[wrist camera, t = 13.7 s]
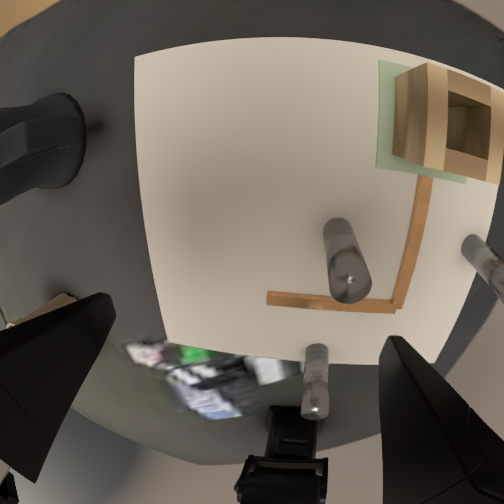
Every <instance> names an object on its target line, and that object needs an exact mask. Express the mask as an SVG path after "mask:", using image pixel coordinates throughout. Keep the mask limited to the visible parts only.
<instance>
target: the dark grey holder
mask: <svg viewBox="0 0 504 504" xmlns="http://www.w3.org/2000/svg"><path fill="white" fill-rule="evenodd" d="M85 150H86V125H85V120H84V115H83V112H82V110H81V108H80V106H79V104H78V102H77V101H76V100H75V99H74V98H73V97H72V96H70V95H69V94H65V93H61V92H60V93H56V94H53V95H50V96H47V97H44V98H41V99H39V100H37V101H35V102H34V103H33V104H31V105H27V106H20V107H12V108H0V205H2V204H4V203H6V202H8V201H9V200H11V199H12V198H14V197H16V196H17V195H20V194H22V193H24V192H26V191H29V190H31V189H33V188H42V189H51V188H61V187H63V186H65V185H67V184H70V183H71V181H72V180H73V179H74V178H75V177H76V176H77V174H78V172H79V170H80V168H81V165H82V163H83V160H84V155H85Z"/></svg>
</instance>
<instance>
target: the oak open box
mask: <svg viewBox="0 0 504 504" xmlns="http://www.w3.org/2000/svg"><path fill="white" fill-rule="evenodd" d="M447 121H448V124H447ZM446 139H447V140H446ZM503 150H504V93H503V92H501V91H499V90H497V89H495V88H493V87H491V86H488V85H486V84H484V83H482V82H480V81H477V80H475V79H473V78H470V77H468V76H465V75H463V74H460V73H458V72H455V71H452V70H449V69H447V68H444V67H441V66H438V65H435V64H432V63H428V62H426V63H424V64H421V65H419V66H417V67H415V68H413V69H410V70H408V71H406V72H404V73H402V74H400V75H398V76H396V77H395V113H394V134H393V149H392V154H393V155H396V156H398V157H401V158H404V159H406V160H408V161H411V162H413V163H416V164H418V165H420V166H423V167H427V168H432V169H436V170H441V171H445V172H450V173H454V174H458V175H462V176H466V177H470V178H474V179H477V180H481V181H485V182H488V183H492V184H495V185H498V186H499V183H500V176H501V169H502V160H503Z"/></svg>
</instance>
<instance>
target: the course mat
mask: <svg viewBox="0 0 504 504" xmlns="http://www.w3.org/2000/svg"><path fill="white" fill-rule="evenodd" d="M426 62H428V63H432V64H435V65H438V66H441V67H444V68H447V69H449V70H452V71H455V72H458V73H460V74H463V75H465V76H468V77H470V78H473V79H475V80H477V81H480V82H482V83H484V84H486V85H488V86H491V87H493V88H495V89H497V90H499V91H501V92H503V93H504V90H503V89H501V88H499V87H497V86H495V85H493V84H491V83H489V82H487V81H485V80H483V79H480V78H478V77H476V76H474V75H471V74H469V73H466V72H464V71H461V70H459V69H456V68H453V67H451V66H448V65H445V64H442V63H439V62H436V61H433V60H430V59H426V58H423V57H420V56H416V55H412V54H409V53H405V52H401V51H396V50H392V49H387V48H383V47H377V46H372V45H366V44H360V43H353V42H346V41H338V40H328V39H315V38H295V37H264V38H243V39H230V40H220V41H212V42H204V43H198V44H191V45H185V46H180V47H175V48H170V49H165V50H161V51H156V52H152V53H148V54H144V55H140V56H137V57H135V74H134V103H135V132H136V149H137V162H138V174H139V184H140V193H141V201H142V209H143V217H144V224H145V231H146V237H147V243H148V249H149V255H150V261H151V266H152V271H153V276H154V281H155V286H156V291H157V296H158V300H159V305H160V309H161V313H162V318H163V322H164V326H165V330H166V334H167V338H168V341H169V342H172V343H177V344H182V345H187V346H192V347H197V348H203V349H208V350H214V351H220V352H227V353H233V354H240V355H247V356H255V357H263V358H271V359H281V360H291V361H302V362H305V352H306V348H307V347H308V346H309V345H311V344H315V343H320V344H324V345H325V346H327V348H328V355H329V363H333V364H363V365H379V355H380V353H381V351H382V348H383V346H384V344H385V341H386V339H387V337H388V336H390V335H399V336H402V337H403V338H404V339H405V340H406V341H407V342H408V343H409V344H410V345H411V346H412V347H413V348H414V349H415V350H416V351H417V352H418V353H419V354H420V355H421V356H422V357H423V358H424V359H425V360H426V361H427V362H428V363H434V362H435V360H436V359H437V357H438V355H439V353H440V352H441V350H442V348H443V346H444V344H445V342H446V340H447V338H448V336H449V334H450V332H451V330H452V328H453V326H454V324H455V322H456V320H457V318H458V316H459V313H460V311H461V309H462V307H463V304H464V302H465V300H466V297H467V295H468V292H469V290H470V287H471V284H472V282H473V279H474V276H475V274H476V270H475V268H474V267H473V266H472V265H471V264H470V263H469V262H468V261H467V260H466V258H465V257H464V256H463V255H462V253H461V246H462V243H463V241H464V239H465V238H466V237H467V236H468V235H470V234H476V235H478V236H479V237H480V238H481V239H482V240H483V241H484V242H486V239H487V235H488V232H489V228H490V224H491V220H492V215H493V211H494V206H495V201H496V196H497V190H498V185H495V184H492V183H488V182H485V181H481V180H477V179H474V178H470V177H466V176H462V175H458V174H454V173H450V172H445V171H441V170H436V169H432V168H427V167H423V166H420V165H418V164H416V163H413V162H411V161H408V160H406V159H404V158H401V157H398V156H396V155H393V154H392V149H393V134H394V113H395V77H396V76H398V75H400V74H402V73H404V72H406V71H408V70H410V69H413V68H415V67H417V66H419V65H421V64H424V63H426ZM447 124H448V121H447ZM446 140H447V139H446ZM418 175H423V176H428V177H432V178H433V184H432V191H431V197H430V203H429V208H428V214H427V219H426V223H425V228H424V233H423V237H422V241H421V245H420V249H419V253H418V257H417V261H416V265H415V268H414V272H413V275H412V279H411V282H410V285H409V288H408V291H407V295H406V298H405V301H404V304H403V306H402V309H396V312H395V314H384V313H362V312H345V311H329V310H316V309H303V308H292V307H281V306H270V305H266V301H267V292H268V291H277V292H288V293H299V294H311V295H324V296H332V295H331V293H330V290H329V281H328V272H327V263H326V255H325V247H324V239H323V228H324V225H325V224H326V223H327V222H328V221H329V220H330V219H333V218H343V219H345V220H347V221H348V222H349V223H350V224H351V226H352V229H353V231H354V234H355V236H356V239H357V241H358V244H359V246H360V249H361V252H362V254H363V257H364V260H365V262H366V265H367V268H368V270H369V273H370V276H371V279H372V288H371V290H370V292H369V294H368V295H367V296H366V297H365V298H369V299H388V300H391V298H392V295H393V291H394V288H395V284H396V281H397V277H398V274H399V270H400V266H401V262H402V258H403V254H404V250H405V246H406V241H407V237H408V232H409V227H410V222H411V217H412V211H413V206H414V200H415V193H416V187H417V179H418Z"/></svg>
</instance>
